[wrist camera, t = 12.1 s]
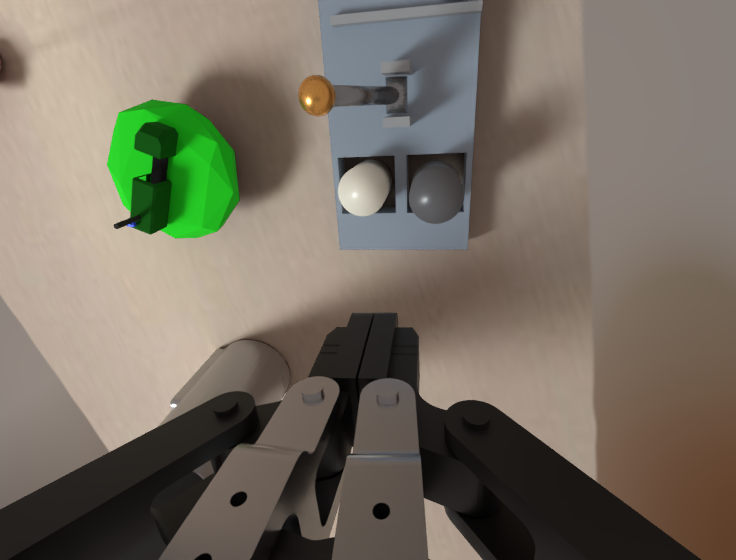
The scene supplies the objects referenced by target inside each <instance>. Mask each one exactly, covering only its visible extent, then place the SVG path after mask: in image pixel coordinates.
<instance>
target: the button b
mask: <svg viewBox="0 0 736 560" xmlns="http://www.w3.org/2000/svg"><path fill="white" fill-rule="evenodd" d="M463 201H464V189H463V186H462V184H461V181H460V179H459V176H458V174H457V172H456V170H455V169H454V168H453V167H452V166H451V165H450V164H448V163H446V162H444V161H438V160H436V161H430V162H427V163H425V164H424V165H422V166H421V167H420V168H419V169H418V170H417V171H416V173H415V175H414V178H413V181H412V184H411V188H410V192H409V203H410V207H411V209H412V211H413V213H414V214H415V215H416V216H417V217H418V218H419V219H421V220H422V221H424V222H427V223H431V224H440V223H444V222H447V221H449V220H451V219H452V218H453V217H455V216H456V215H457V214H458V212H459V211H460V209H461V207H462V205H463Z"/></svg>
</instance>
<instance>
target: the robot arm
mask: <svg viewBox="0 0 736 560" xmlns="http://www.w3.org/2000/svg"><path fill="white" fill-rule="evenodd" d="M419 377H420V373H419V336H418V335H417V333H416V332H415V330H414V329H413V328H400V327H398V316H397V313H375V314H374V313H352V315H351V317H350V320H349V323H348V325H347V327H337V328H335V329H334V330H333V331H332V332H331V333H329V334H328V335H327V337H326V339H325V341H324V343H323V346H322V348H321V350H320V352H319V354H318V357H317V359H316V361H315V363H314V365H313V367H312V370H311V372H310V374H309V376H308V378H306V379H303V380H300V381H299V382H297V383H295V384H294V385H293V386H292V387H291V388H290V389H289V390H288V392H287V393H286V395H285V397H284V398H283V396H284V393H285V391H286V389H287V387H288V385H289V381H290V372H289V368H288V366H287V364H286V362H285V360H284V359H283V358H282V356H281V355H280V354H279V353H278V352H277V351H276V350H274V349H273V348H271V347H270V346H268V345H266V344H264V343H261V342H258V341H254V340H240V341H236V342H234V343H231V344H230V345H229V346H227V347H226V348H224V349H217V350H216V351H215V352H214V353H213V354H212V355H211V356H210V358H209V359H208V360H207V361H206V362H205V363H204V364H203V365H202V366H201V368H200V369H199V370H198V371H197V372H196V373H195V374H194V375H193V376H192V378H191V379H190V380H189V381H188V382H187V383H186V384H185V385H184V386H183V388H182V389H181V390H180V391H179V392H178V393H177V394H176V395H175V397H174V398H173V399H172V400H171V408H172V411H171V412H170V413H169V414H168V415H167V416H166V418H165V419H164V420H163V421H162V422H161V423H160V425H159V426H158V427H157V428H155V429H153V430H151V431H149V432H147V433H145V434H144V435H142V436H140V437H138V438H136V439H134V440H132V441H130V442H128V443H126V444H124V445H123V446H121V447H119V448H117V449H115V450H113V451H111V452H109V453H107V454H106V455H103V456H102V457H100V458H98V459H96V460H94V461H92V462H90V463H88V464H86V465H84V466H82V467H81V468H79V469H77V470H75V471H73V472H71V473H69V474H67V475H65V476H63V477H62V478H60V479H58V480H56V481H54V482H52V483H50V484H48V485H46V486H44V487H42V488H41V489H38V490H37V491H35V492H33V493H31V494H29V495H27V496H25V497H23V498H21V499H20V500H17V501H16V502H14V503H12V504H10V505H8V506H6V507H4V508H3V509H0V560H430V559H428V548H427V535H426V521H425V508H424V498H426V499H428V500H431V501H433V502H436V503H438V504H440V505H443V506H444V508H445V511H446V514H447V516H448V517H449V519H450V520H451V522H452V523H453V524H454V525H455V526H456V528H457V529H458V530H459V531H460V532H461V534H462V535H463V536H464V537H465V539H466V540H467V541H468V542H469V543H470V545H471V546H472V547H473V548H474V549H475V551H476V552H477V553H478V554H479V555H480V557H481V558H482V559H483V560H701V559H700V558H698V557H697V556H696V555H694V554H693V553H692V552H690V551H689V550H688V549H686V548H685V547H684V546H682V545H681V544H679V543H678V542H677V541H675V540H674V539H673V538H671V537H670V536H669V535H667V534H666V533H665V532H663V531H662V530H661V529H659V528H658V527H657V526H655V525H654V524H652V523H651V522H650V521H648V520H647V519H646V518H644V517H643V516H642V515H640V514H639V513H638V512H636V511H635V510H634V509H632V508H631V507H630V506H628V505H627V504H625V503H624V502H623V501H621V500H620V499H619V498H617V497H616V496H615V495H613V494H612V493H611V492H609V491H608V490H606V489H605V488H604V487H603V486H601V485H600V484H598V483H597V482H596V481H595V480H593V479H592V478H590V477H589V476H588V475H586V474H585V473H584V472H582V471H581V470H580V469H578V468H577V467H576V466H574V465H573V464H572V463H570V462H569V461H568V460H566V459H565V458H564V457H562V456H561V455H559V454H558V453H557V452H555V451H554V450H553V449H551V448H550V447H549V446H547V445H546V444H545V443H543V442H542V441H541V440H539V439H538V438H537V437H535V436H534V435H532V434H531V433H530V432H528V431H527V430H526V429H524V428H523V427H522V426H520V425H519V424H518V423H516V422H515V421H514V420H512V419H511V418H510V417H508V416H507V415H506V414H504V413H503V412H501V411H500V410H499V409H497V408H496V407H494V406H492V405H490V404H488V403H485V402H482V401H476V400H466V401H461V402H458V403H455V404H453V405H452V406H451V407H450V408H448V410H443V409H440V408H437V407H434V406H432V405H430V404H429V403H427V402H426V401H424V400H423V399H422V398H421V396H420V395H419ZM282 398H283V400H281V399H282ZM352 447H353V454H350V453H351V448H352ZM339 503H340V506H339ZM338 507H339V513H338V520H337V526H336V533H335V537H333V538H329V536H330V533H331V530H332V526H333V523H334V520H335V516H336V513H337V510H338Z"/></svg>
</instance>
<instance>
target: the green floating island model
mask: <svg viewBox="0 0 736 560" xmlns="http://www.w3.org/2000/svg"><path fill="white" fill-rule="evenodd" d="M107 166H108V168H109V171H110V173H111V176H112V178H113V181H114V183H115V186H116V188H117V191H118V193H119V195H120V198H121V200H122V203H123V205H124V206H125V207H126V208H127V209H128V210H129V211H130V212H131V215H130V218H129V219H127V220H124V221H121V222H119V223H116V224H114V228H116V229H118V228H121V227H123V226H126V225H127V226H129V227H132V228H135V229H138V230H140V231H143V232H145V233H148V234H153V233H155V232H157V231H159V230H161V231H163V232H165V233H166V234H168V235H170V236H172V237H174V238H199V237H202V236H205V235H208V234H211V233H214V232H217V231H218V230H219V229H220V228H221V227H222V226H223V225H224V223H225V222H226V220H227V219H228V217H229V215H230V214H231V212H232V211H233V209H234V208H235V206H236V205H237V203H238V202H239V200H240V199H239V189H238V180H237V171H236V161H235V152H234V150H233V149H232V148H231V146H230V145H229V144H228V143H227V141H226V140H225V139H224V138H223V136H222V135H221V134H220V133H219V131H218V130H217V129H216V128H215V126H214V125H213V124H212V123H211V121H210V120H209V119H207V118H206V117H204V116H203V115H201V114H200V113H198V112H197V111H195V110H194V109H192V108H191V107H189V106H188V105H186V104H179V103H172V102H165V101H157V100H150V101H147V102H145V103H142V104H140V105H137V106H135V107H132V108H130V109H127V110H125V111H122V112H119V114H118V117H117V121H116V124H115V128H114V132H113V137H112V142H111V147H110V152H109V158H108V163H107Z"/></svg>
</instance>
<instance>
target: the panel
mask: <svg viewBox="0 0 736 560" xmlns="http://www.w3.org/2000/svg"><path fill="white" fill-rule="evenodd" d="M482 5H483V0H445V1H444V0H318V6H319V17H320V28H321V39H322V51H323V62H324V73H325V78H327V79H328V80H329V81H330V82H331V83H332V85H351V86H386V83H385V78H387V77H395V76H407V99H408V113H392V114H386V105H368V106H340V107H333V108H332V110H331V111H330V112H329V113H328V119H329V130H330V141H331V153H332V164H333V175H334V186H335V198H336V209H337V220H338V232H339V243H340V250H468V233H469V215H470V197H471V180H472V162H473V144H474V126H475V108H476V91H477V73H478V55H479V37H480V20H481V12H482ZM444 153H464V170H463V189H464V201H463V205H462V207H461V209H460V211H459V212H458V214H457V215H456V216H455V217H453V218H452V219H451V220H449V221H447V222H444V223H440V224H431V223H427V222H424V221H422V220H421V219H419V218H418V217H417V216H416V215H415V214H414V213H413V211H412V209H411V207H409V205H408V155H419V154H444ZM394 155H395V196H396V207H381V208H380V209H379V210H378V211H377V212H375V213H374V214H372V215H369V216H357V215H354V214H352V213H350V212H348V211H347V210H346V209H345V208H344V207H343V205H342V204H341V202H340V200H339V196H338V186H339V182H340V180H341V178H342V177H343V175H344V174H345V167H344V157H369V156H394Z"/></svg>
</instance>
